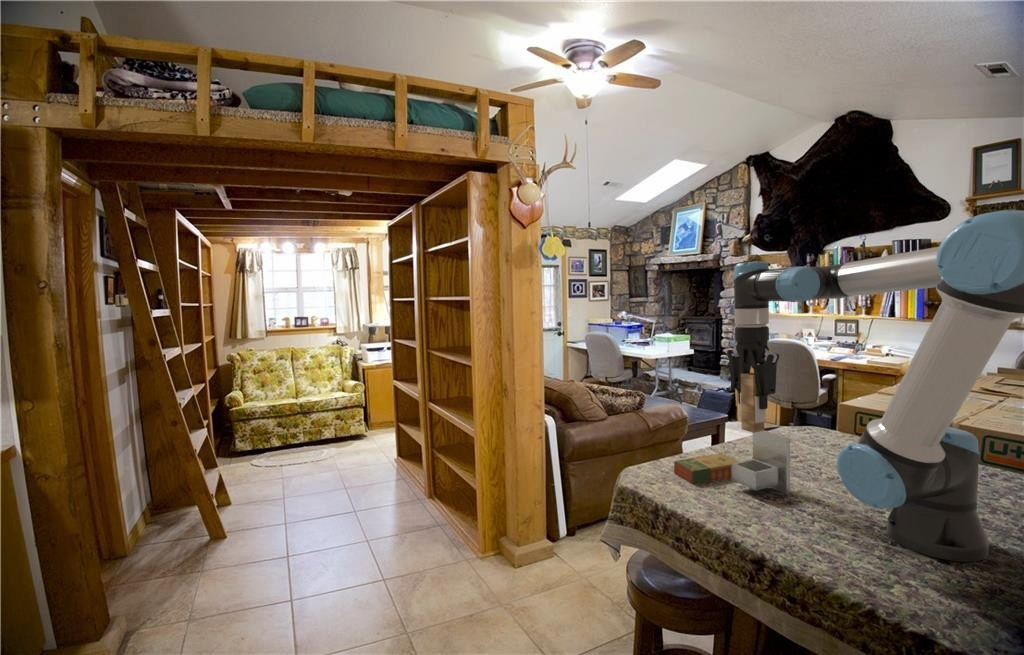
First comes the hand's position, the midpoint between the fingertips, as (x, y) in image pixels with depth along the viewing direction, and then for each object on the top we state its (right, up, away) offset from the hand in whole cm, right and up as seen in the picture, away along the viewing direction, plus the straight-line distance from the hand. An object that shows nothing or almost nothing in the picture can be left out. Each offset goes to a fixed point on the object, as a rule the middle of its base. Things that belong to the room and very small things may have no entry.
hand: (752, 419), depth 121 cm
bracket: (+2, -18, +2) cm, 18 cm away
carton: (-6, -18, +14) cm, 24 cm away
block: (0, -3, 0) cm, 3 cm away
